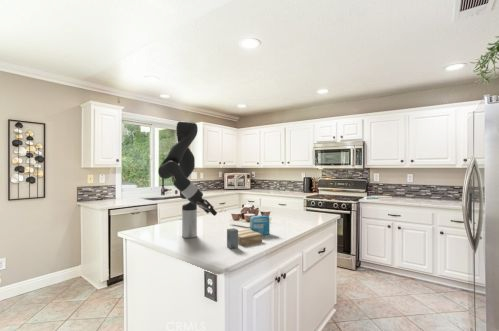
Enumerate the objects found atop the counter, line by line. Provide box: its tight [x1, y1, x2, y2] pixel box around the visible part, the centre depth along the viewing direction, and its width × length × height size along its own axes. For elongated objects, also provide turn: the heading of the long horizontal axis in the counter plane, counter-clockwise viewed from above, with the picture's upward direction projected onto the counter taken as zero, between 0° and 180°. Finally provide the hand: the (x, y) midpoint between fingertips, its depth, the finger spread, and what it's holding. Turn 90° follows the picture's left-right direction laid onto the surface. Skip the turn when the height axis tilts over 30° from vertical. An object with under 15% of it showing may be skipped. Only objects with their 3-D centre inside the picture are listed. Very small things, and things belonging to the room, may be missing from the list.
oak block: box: [238, 229, 263, 247], centre depth 160 cm, size 14×14×5 cm
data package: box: [249, 215, 270, 236], centre depth 176 cm, size 12×4×12 cm, turn 108°
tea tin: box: [226, 227, 239, 250], centre depth 148 cm, size 4×4×10 cm
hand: (212, 213), depth 141 cm, fingers open, 8 cm apart
